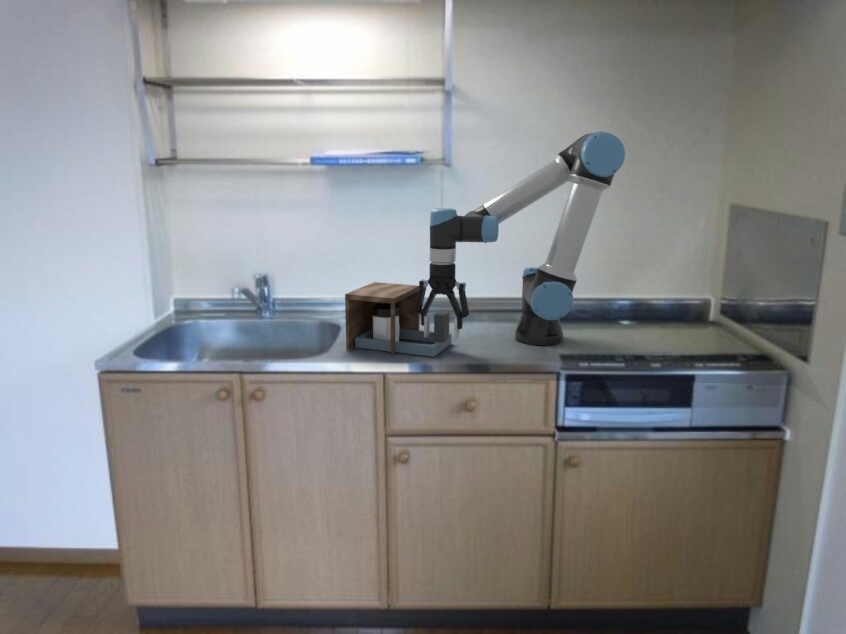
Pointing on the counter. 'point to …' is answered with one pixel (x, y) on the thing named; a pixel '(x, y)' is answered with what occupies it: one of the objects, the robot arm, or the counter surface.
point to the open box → (380, 293)
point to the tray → (438, 336)
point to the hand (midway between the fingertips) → (441, 337)
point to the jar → (384, 321)
